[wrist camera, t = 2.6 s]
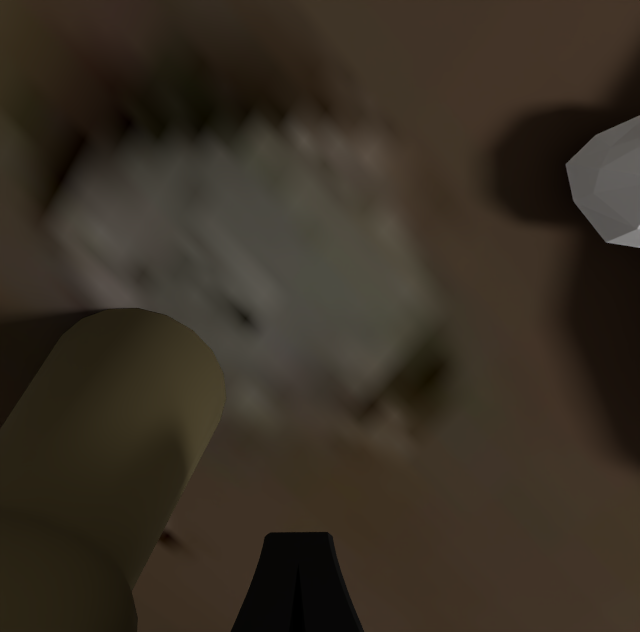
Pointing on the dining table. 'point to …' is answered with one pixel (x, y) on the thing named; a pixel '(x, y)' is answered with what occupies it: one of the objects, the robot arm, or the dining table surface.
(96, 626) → the cork
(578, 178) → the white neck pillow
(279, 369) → the dining table surface
